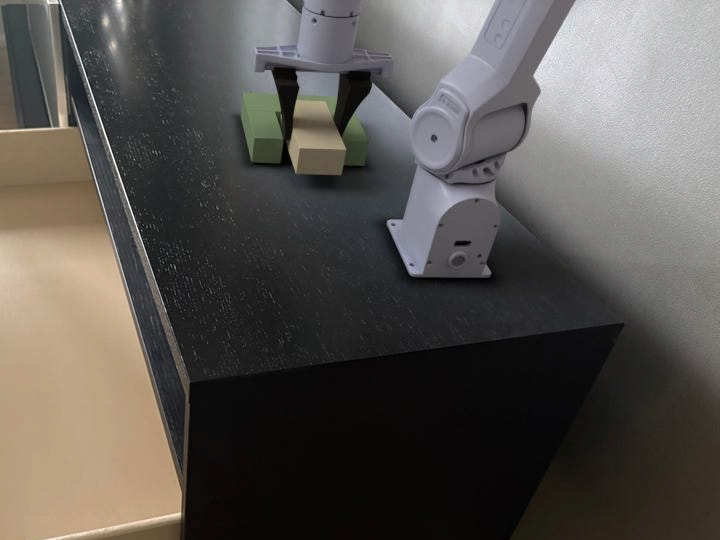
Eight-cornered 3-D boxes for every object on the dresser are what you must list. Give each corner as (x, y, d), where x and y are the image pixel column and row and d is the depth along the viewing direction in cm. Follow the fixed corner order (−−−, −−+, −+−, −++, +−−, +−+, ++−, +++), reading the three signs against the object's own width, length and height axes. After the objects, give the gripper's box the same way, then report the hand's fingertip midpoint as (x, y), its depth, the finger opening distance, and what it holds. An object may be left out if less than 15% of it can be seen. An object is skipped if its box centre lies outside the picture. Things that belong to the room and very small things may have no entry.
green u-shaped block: (364, 165, 86) (369, 141, 84) (251, 162, 84) (254, 137, 82) (342, 119, 95) (347, 96, 93) (240, 116, 93) (242, 92, 91)
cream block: (341, 175, 81) (346, 149, 79) (295, 174, 80) (299, 147, 78) (321, 125, 90) (325, 101, 88) (279, 124, 89) (282, 99, 87)
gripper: (392, -1, 79) (366, 123, 88) (254, -9, 77) (242, 118, 86) (410, 22, 74) (381, 151, 83) (263, 14, 72) (249, 147, 81)
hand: (311, 136), depth 84 cm, fingers closed on cream block, 5 cm apart
